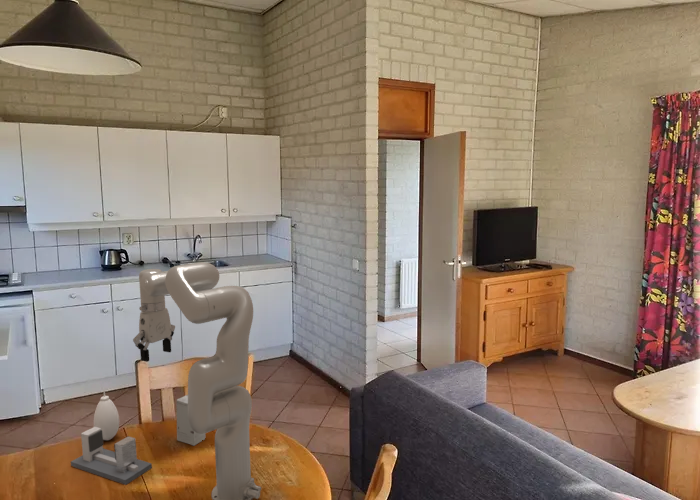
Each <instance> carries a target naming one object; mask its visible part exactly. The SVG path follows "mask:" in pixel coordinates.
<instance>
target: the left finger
mask: <svg viewBox="0 0 700 500" xmlns="http://www.w3.org/2000/svg"><path fill="white" fill-rule="evenodd" d="M113 445H114V446H113V447H114V452H115V460H116V465H117V471H119V472H122V473H125V472H127V469H126V466H127V465H129V464H130V463H131V464H134V465H137V459H138V458H137V457H138V456H137V442H136V438H135V437H132V436H126V437H125V438H123V439H121V440H119V441H116V443H115V442H114V444H113Z"/></svg>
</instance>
